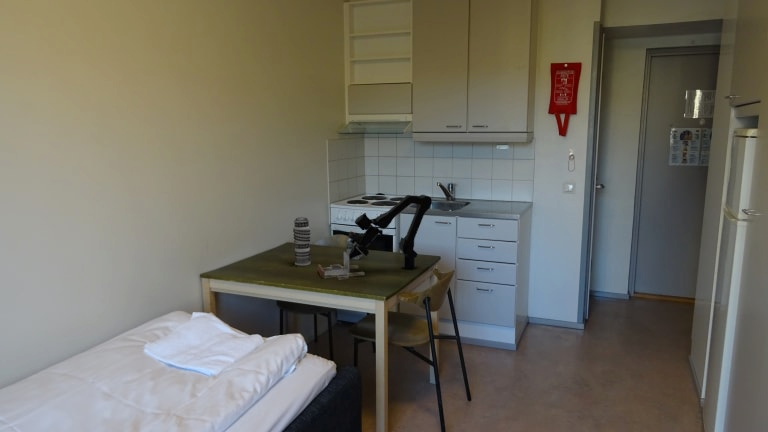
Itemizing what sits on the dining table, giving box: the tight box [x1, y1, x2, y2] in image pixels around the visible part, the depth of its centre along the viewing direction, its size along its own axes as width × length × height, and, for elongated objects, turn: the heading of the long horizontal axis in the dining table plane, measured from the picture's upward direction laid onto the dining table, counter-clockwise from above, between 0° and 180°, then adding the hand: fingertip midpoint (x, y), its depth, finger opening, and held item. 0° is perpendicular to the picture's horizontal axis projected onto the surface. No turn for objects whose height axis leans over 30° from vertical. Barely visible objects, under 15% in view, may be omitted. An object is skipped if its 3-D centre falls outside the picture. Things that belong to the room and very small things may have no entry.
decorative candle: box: [292, 216, 312, 266], centre depth 279 cm, size 9×9×25 cm
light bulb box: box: [346, 238, 364, 260], centre depth 293 cm, size 11×7×11 cm, turn 168°
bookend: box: [324, 251, 350, 276], centre depth 261 cm, size 12×10×10 cm
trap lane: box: [317, 263, 365, 281], centre depth 262 cm, size 21×23×4 cm
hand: (347, 259), depth 262 cm, fingers closed
